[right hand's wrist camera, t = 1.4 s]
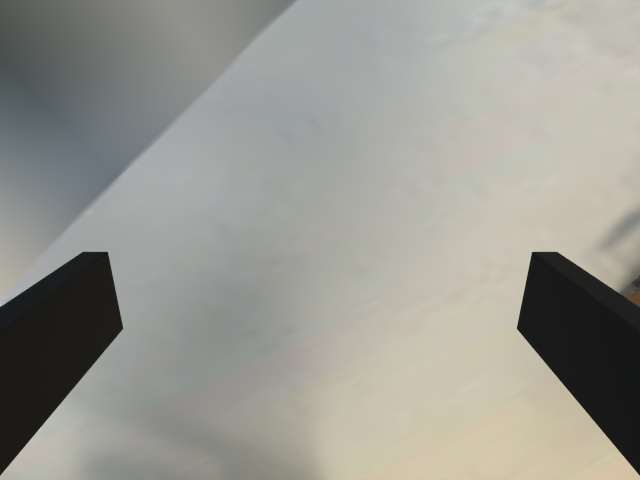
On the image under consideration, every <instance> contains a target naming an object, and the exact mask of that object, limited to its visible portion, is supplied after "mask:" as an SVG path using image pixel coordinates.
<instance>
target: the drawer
mask: <svg viewBox="0 0 640 480" xmlns="http://www.w3.org/2000/svg"><path fill="white" fill-rule="evenodd" d="M631 285H632V286H633V287H635V288H636V289H637V290H636V291H635V292H634V293H632V294H631V295H630V296H629V297H628V298H627V299H628V300H630V301H631V302H633V303H634V304H636V305H637V306H639V307H640V275H639V276H638V277H637V278H636V279H635V280H633V281H632V282H631Z"/></svg>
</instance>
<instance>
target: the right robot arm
mask: <svg viewBox="0 0 640 480" xmlns="http://www.w3.org/2000/svg"><path fill="white" fill-rule="evenodd" d="M122 329H123V325H122V320H121V315H120V310H119V306H118V301H117V296H116V291H115V286H114V281H113V276H112V271H111V266H110V261H109V256H108V252H82V253H81V254H79V255H78V256H76V257H75V258H73V259H72V260H70V261H69V262H67V263H66V264H64V265H63V266H61V267H60V268H58V269H57V270H55V271H54V272H52V273H51V274H49V275H48V276H46V277H45V278H43V279H42V280H40V281H39V282H37V283H36V284H34V285H33V286H31V287H30V288H28V289H27V290H25V291H24V292H22V293H21V294H19V295H18V296H16V297H15V298H13V299H12V300H10V301H9V302H7V303H6V304H4V305H3V306H1V307H0V475H1V474H2V473H3V472H4V470H5V469H6V468H7V467H8V466H9V464H10V463H11V462H12V461H13V460H14V458H15V457H16V456H17V455H18V454H19V452H20V451H21V450H22V449H23V448H24V446H25V445H26V444H27V443H28V442H29V440H30V439H31V438H32V437H33V436H34V435H35V433H36V432H37V431H38V430H39V429H40V427H41V426H42V425H43V424H44V423H45V421H46V420H47V419H48V418H49V417H50V415H51V414H52V413H53V412H54V411H55V409H56V408H57V407H58V406H59V405H60V403H61V402H62V401H63V400H64V399H65V397H66V396H67V395H68V394H69V393H70V392H71V390H72V389H73V388H74V387H75V386H76V384H77V383H78V382H79V381H80V380H81V378H82V377H83V376H84V375H85V374H86V372H87V371H88V370H89V369H90V368H91V366H92V365H93V364H94V363H95V362H96V360H97V359H98V358H99V357H100V356H101V354H102V353H103V352H104V351H105V350H106V349H107V347H108V346H109V345H110V344H111V343H112V341H113V340H114V339H115V338H116V337H117V335H118V334H119V333H120V332H121V331H122ZM517 329H518V331H519V332H520V333H521V334H522V335H523V337H524V338H525V339H526V340H527V341H528V343H529V344H530V345H531V346H532V347H533V349H534V350H535V351H536V352H537V353H538V354H539V356H540V357H541V358H542V359H543V360H544V362H545V363H546V364H547V365H548V366H549V368H550V369H551V370H552V371H553V372H554V374H555V375H556V376H557V377H558V378H559V380H560V381H561V382H562V383H563V384H564V386H565V387H566V388H567V389H568V390H569V392H570V393H571V394H572V395H573V396H574V397H575V399H576V400H577V401H578V402H579V403H580V405H581V406H582V407H583V408H584V409H585V411H586V412H587V413H588V414H589V415H590V417H591V418H592V419H593V420H594V421H595V423H596V424H597V425H598V426H599V427H600V429H601V430H602V431H603V432H604V433H605V435H606V436H607V437H608V438H609V439H610V441H611V442H612V443H613V444H614V445H615V446H616V448H617V449H618V450H619V451H620V452H621V454H622V455H623V456H624V457H625V458H626V460H627V461H628V462H629V463H630V464H631V466H632V467H633V468H634V469H635V470H636V472H637V473H638V474H639V475H640V307H639V306H637V305H636V304H634V303H633V302H631V301H630V300H628V299H627V298H625V297H624V296H622V295H621V294H619V293H618V292H616V291H615V290H613V289H612V288H610V287H609V286H607V285H606V284H604V283H603V282H601V281H600V280H598V279H597V278H595V277H594V276H592V275H591V274H589V273H588V272H586V271H585V270H583V269H582V268H580V267H579V266H577V265H576V264H574V263H573V262H571V261H570V260H568V259H567V258H565V257H564V256H562V255H561V254H559V253H558V252H532V256H531V261H530V266H529V271H528V276H527V281H526V286H525V291H524V296H523V301H522V305H521V310H520V315H519V320H518V325H517Z"/></svg>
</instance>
